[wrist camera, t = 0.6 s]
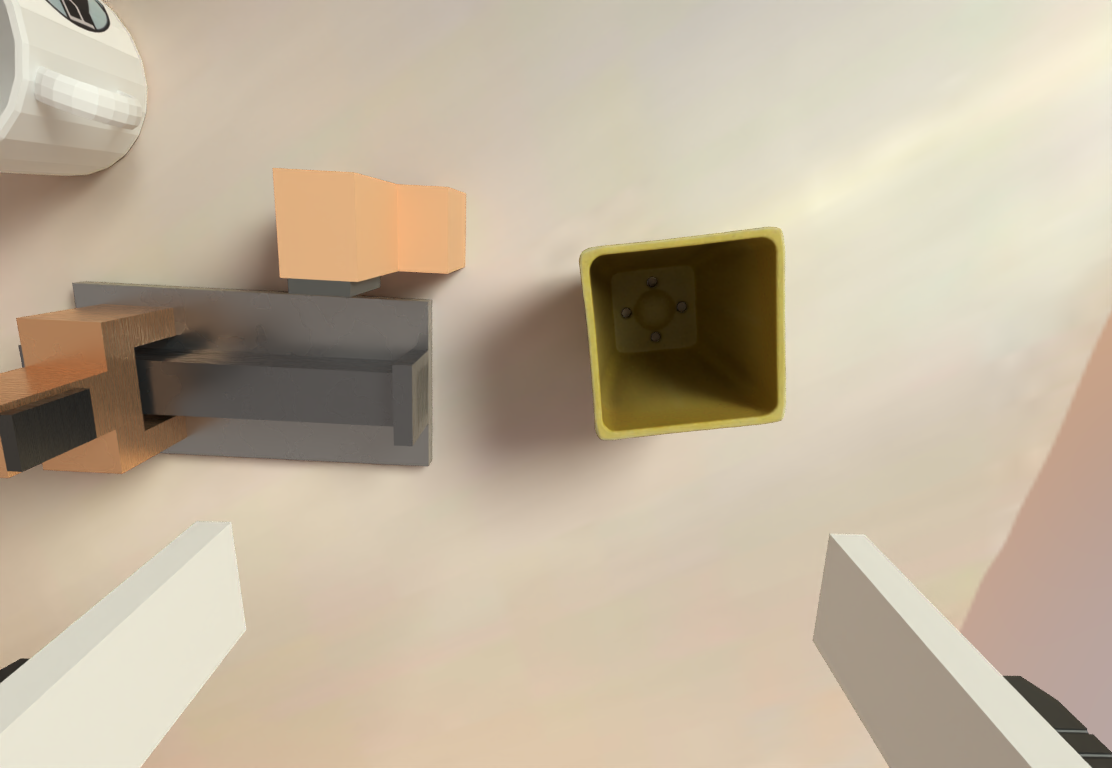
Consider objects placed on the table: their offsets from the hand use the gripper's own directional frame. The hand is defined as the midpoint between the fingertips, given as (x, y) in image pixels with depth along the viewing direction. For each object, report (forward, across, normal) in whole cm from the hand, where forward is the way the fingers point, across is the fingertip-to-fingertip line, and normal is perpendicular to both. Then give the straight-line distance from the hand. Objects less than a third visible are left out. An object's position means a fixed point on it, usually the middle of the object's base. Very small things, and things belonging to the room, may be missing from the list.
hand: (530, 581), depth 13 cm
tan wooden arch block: (+23, -9, +7) cm, 26 cm away
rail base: (+23, -17, -2) cm, 29 cm away
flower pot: (+23, +6, +3) cm, 24 cm away
